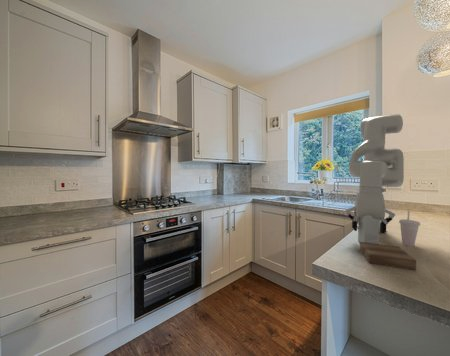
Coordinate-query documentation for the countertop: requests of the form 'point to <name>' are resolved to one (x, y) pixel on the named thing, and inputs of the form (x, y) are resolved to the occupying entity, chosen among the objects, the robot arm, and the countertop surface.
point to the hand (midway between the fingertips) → (368, 231)
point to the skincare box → (368, 229)
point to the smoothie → (409, 230)
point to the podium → (387, 255)
